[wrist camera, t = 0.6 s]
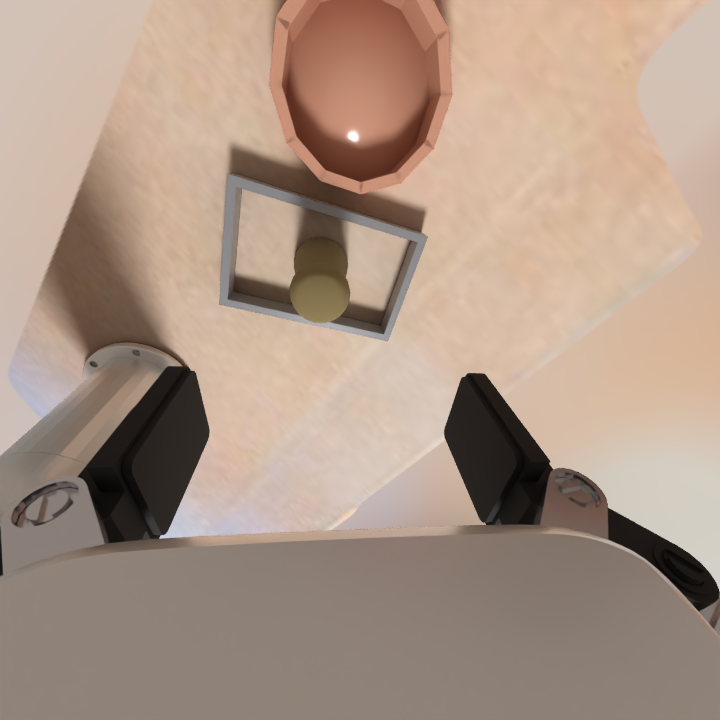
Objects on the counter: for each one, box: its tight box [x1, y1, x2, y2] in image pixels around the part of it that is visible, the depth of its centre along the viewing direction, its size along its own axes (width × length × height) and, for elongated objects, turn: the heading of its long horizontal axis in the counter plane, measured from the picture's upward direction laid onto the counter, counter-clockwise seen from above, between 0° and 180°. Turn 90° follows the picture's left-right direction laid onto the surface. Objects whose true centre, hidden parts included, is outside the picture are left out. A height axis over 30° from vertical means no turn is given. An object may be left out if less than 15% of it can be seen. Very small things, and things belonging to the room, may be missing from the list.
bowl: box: [269, 0, 452, 194], centre depth 25 cm, size 14×14×4 cm
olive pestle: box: [290, 237, 350, 323], centre depth 30 cm, size 6×6×11 cm
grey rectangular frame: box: [219, 173, 428, 341], centre depth 33 cm, size 13×20×2 cm, turn 74°
